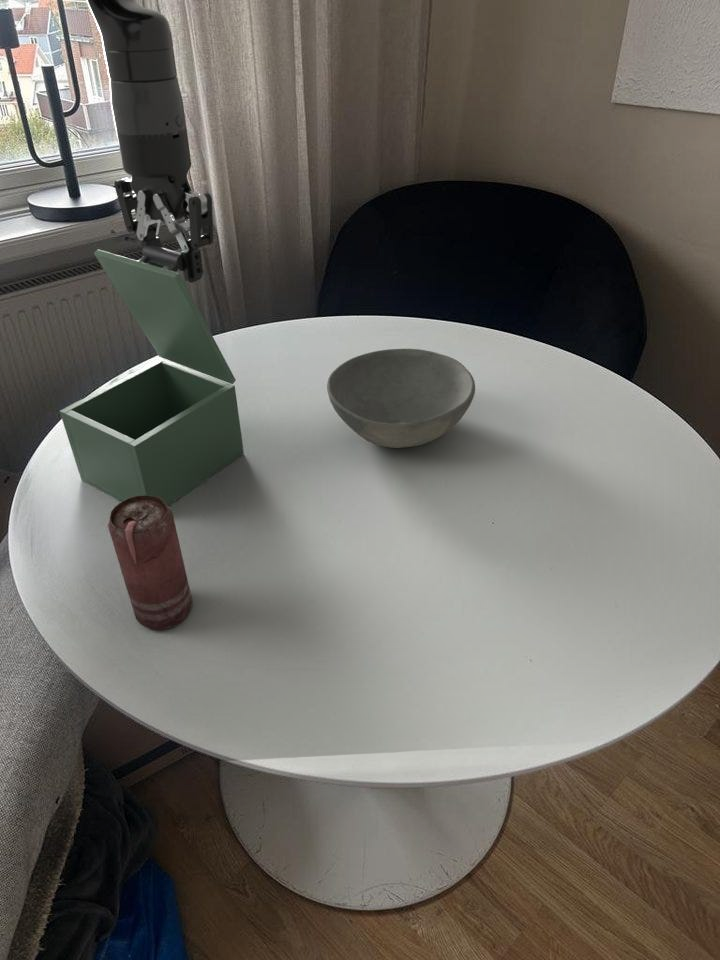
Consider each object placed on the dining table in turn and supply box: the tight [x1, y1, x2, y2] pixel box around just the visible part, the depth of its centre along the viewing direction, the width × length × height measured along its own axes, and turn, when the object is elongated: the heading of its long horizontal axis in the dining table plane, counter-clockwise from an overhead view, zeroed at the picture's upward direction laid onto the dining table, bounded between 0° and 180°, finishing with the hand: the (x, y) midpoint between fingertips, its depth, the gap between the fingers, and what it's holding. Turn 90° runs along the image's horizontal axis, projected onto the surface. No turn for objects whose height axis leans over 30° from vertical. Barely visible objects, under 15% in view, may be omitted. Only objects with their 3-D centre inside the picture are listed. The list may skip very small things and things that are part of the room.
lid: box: [93, 244, 237, 385], centre depth 90 cm, size 18×14×5 cm
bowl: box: [326, 348, 476, 449], centre depth 102 cm, size 21×21×8 cm
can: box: [107, 495, 193, 631], centre depth 72 cm, size 6×6×14 cm
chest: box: [59, 357, 245, 507], centre depth 94 cm, size 17×14×11 cm
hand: (174, 274), depth 87 cm, fingers closed on lid, 6 cm apart
